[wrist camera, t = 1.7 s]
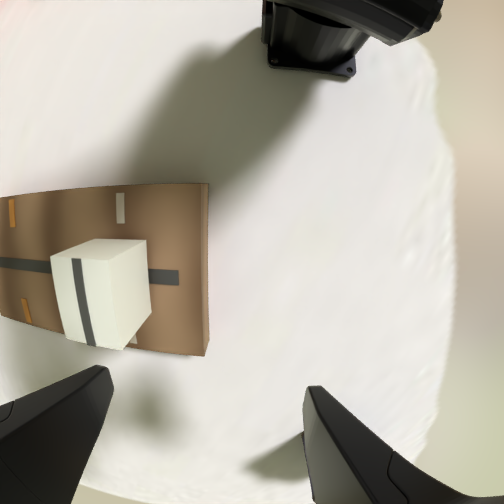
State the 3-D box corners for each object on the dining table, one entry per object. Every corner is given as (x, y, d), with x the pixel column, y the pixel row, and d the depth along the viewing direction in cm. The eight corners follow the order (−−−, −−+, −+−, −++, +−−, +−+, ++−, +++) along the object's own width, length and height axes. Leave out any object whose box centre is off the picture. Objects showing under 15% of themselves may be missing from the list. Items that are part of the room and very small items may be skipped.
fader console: (208, 183, 19) (201, 183, 16) (209, 339, 21) (203, 357, 19) (0, 197, 19) (-17, 200, 16) (14, 306, 22) (0, 315, 19)
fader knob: (146, 240, 17) (107, 260, 12) (151, 312, 18) (121, 351, 13) (95, 238, 17) (49, 256, 12) (102, 306, 18) (65, 339, 13)
